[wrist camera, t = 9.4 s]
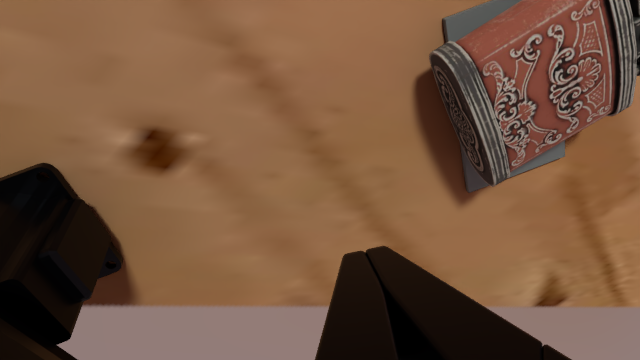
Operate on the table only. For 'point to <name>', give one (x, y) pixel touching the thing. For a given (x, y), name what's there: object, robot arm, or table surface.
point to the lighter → (537, 78)
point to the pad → (454, 31)
